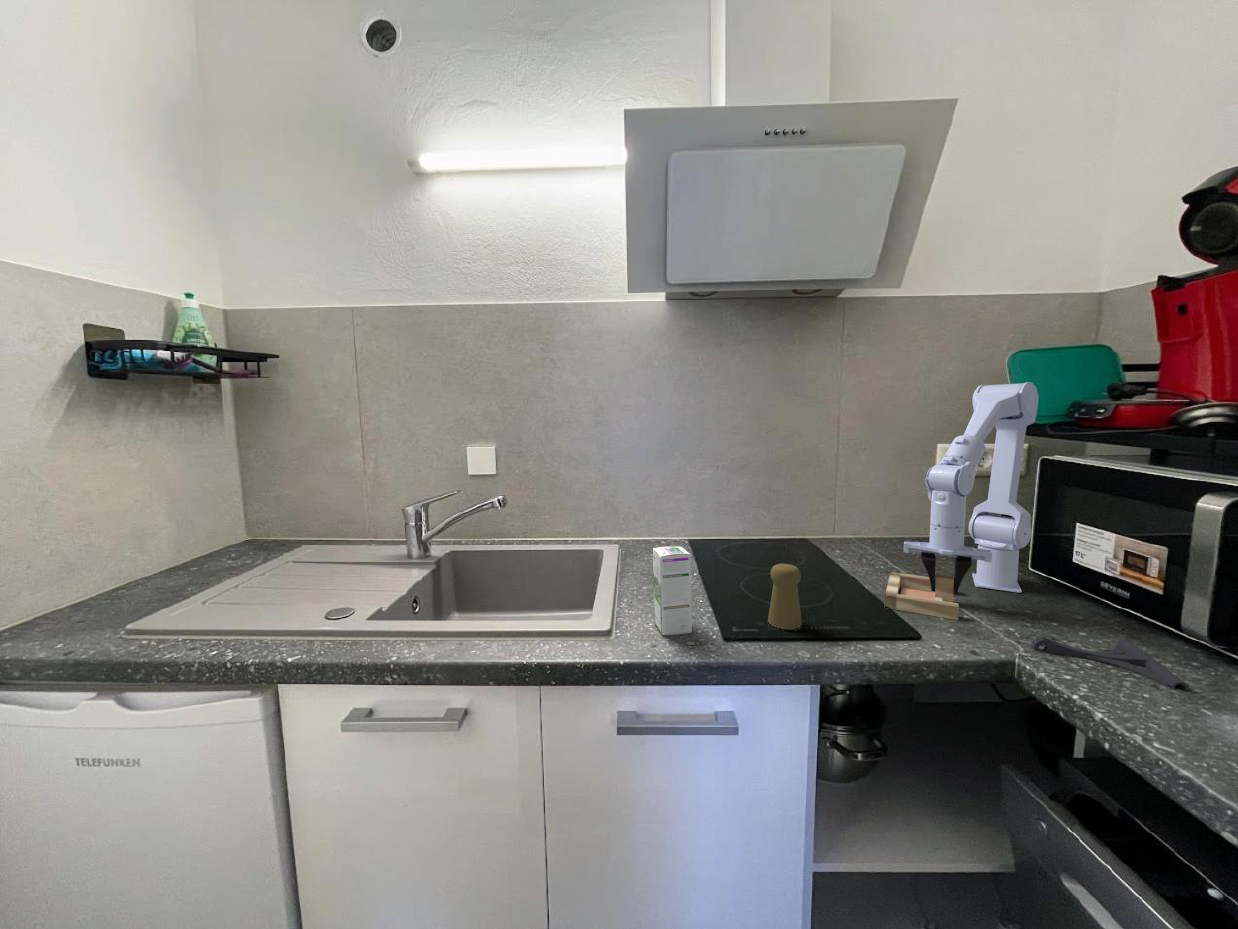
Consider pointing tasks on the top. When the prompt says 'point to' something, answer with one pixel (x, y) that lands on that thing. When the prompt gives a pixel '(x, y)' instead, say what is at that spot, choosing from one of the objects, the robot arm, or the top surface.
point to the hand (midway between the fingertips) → (944, 591)
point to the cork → (785, 597)
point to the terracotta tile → (918, 593)
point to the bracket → (1117, 659)
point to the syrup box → (672, 590)
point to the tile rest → (916, 603)
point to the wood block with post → (944, 587)
